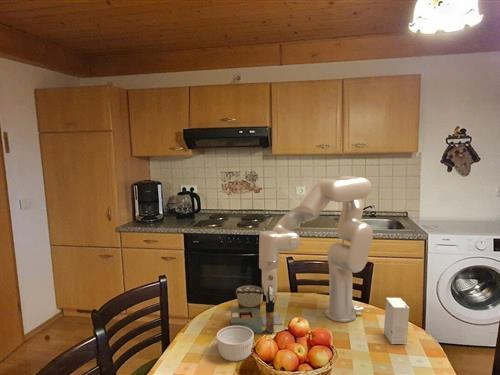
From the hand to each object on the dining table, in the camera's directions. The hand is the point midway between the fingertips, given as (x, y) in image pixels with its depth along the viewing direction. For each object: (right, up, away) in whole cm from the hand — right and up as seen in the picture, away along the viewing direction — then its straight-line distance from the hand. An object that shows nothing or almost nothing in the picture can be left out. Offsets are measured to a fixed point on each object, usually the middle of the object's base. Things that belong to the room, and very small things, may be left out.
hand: (268, 306), depth 138 cm
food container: (-7, -9, +23) cm, 25 cm away
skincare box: (+47, -11, -5) cm, 49 cm away
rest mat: (+2, -10, +12) cm, 15 cm away
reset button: (-9, -8, +6) cm, 13 cm away
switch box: (-9, -10, +7) cm, 15 cm away
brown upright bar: (+1, -11, +1) cm, 11 cm away
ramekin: (-12, -13, -12) cm, 21 cm away
